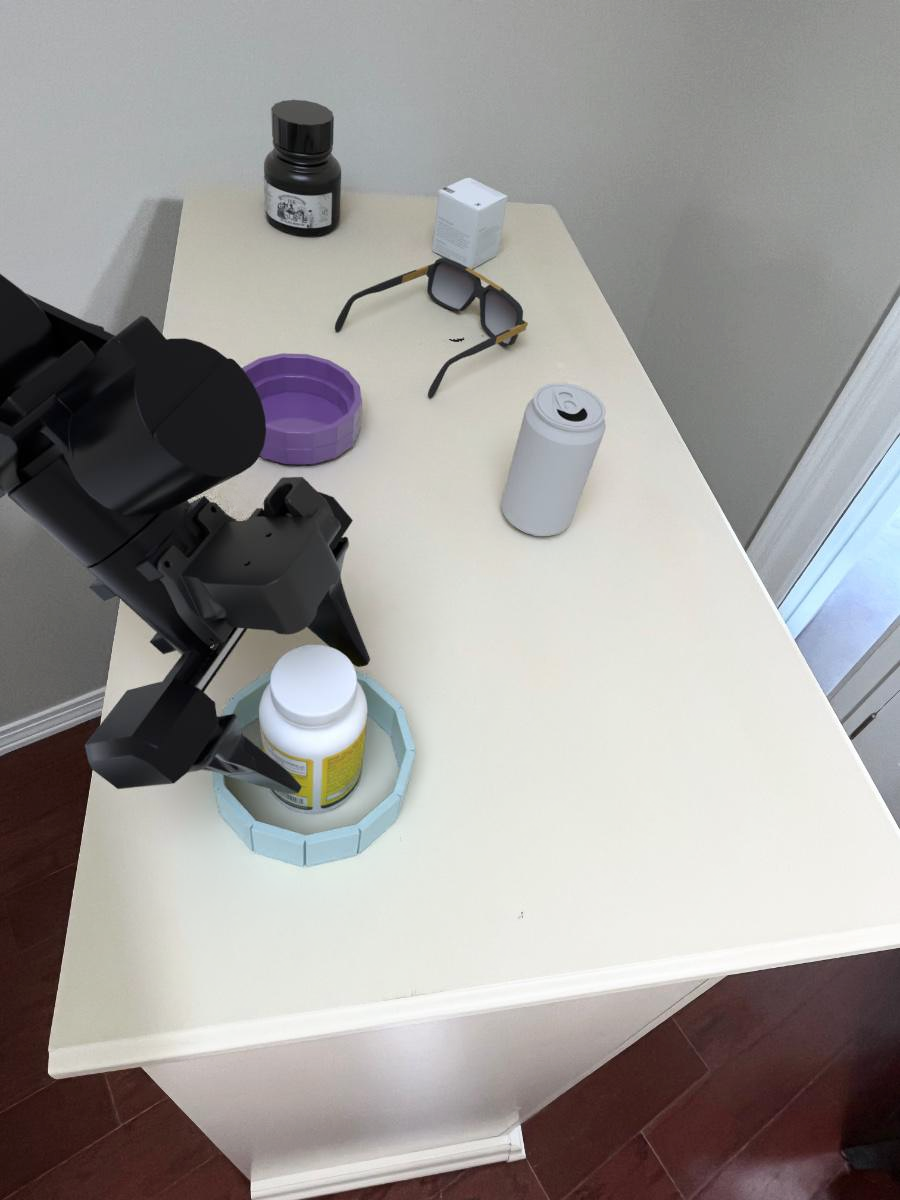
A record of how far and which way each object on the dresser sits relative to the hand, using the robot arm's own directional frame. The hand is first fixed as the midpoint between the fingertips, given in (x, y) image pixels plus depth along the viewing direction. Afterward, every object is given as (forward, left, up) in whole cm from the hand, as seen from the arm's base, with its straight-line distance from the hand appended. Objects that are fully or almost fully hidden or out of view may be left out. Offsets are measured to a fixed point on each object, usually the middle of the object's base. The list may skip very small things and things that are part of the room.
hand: (332, 723), depth 46 cm
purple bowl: (-14, +32, -7) cm, 36 cm away
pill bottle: (-1, 0, -7) cm, 7 cm away
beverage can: (+9, +29, -7) cm, 31 cm away
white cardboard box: (-7, +71, -7) cm, 72 cm away
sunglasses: (-6, +51, -7) cm, 52 cm away
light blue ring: (-1, 0, -7) cm, 7 cm away
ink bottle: (-27, +69, -7) cm, 75 cm away
